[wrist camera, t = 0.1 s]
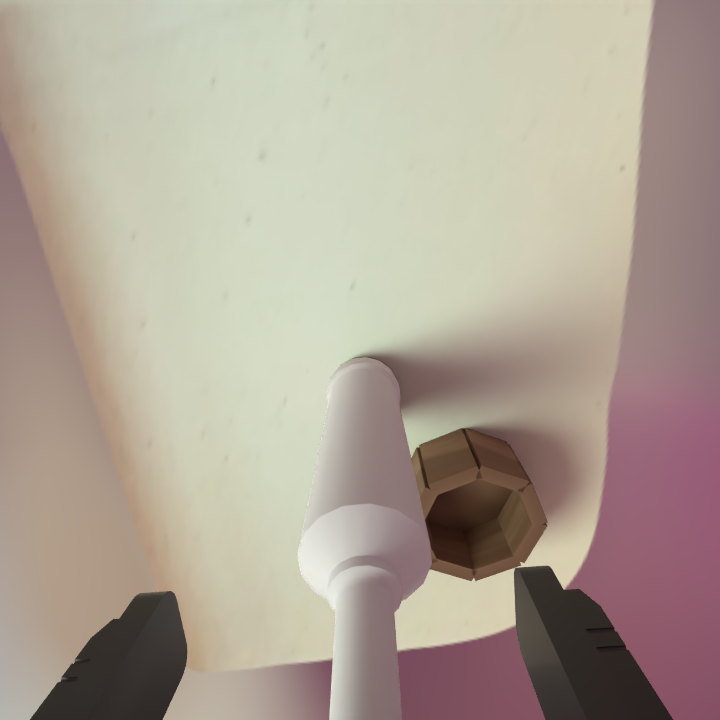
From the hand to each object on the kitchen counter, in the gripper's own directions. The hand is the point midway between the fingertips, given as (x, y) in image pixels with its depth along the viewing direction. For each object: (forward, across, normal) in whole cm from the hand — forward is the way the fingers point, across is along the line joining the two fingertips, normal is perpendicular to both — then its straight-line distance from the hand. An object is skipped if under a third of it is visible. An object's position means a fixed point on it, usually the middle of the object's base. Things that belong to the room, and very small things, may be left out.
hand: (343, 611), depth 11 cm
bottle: (+23, 0, +1) cm, 23 cm away
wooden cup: (+24, -6, +10) cm, 27 cm away
